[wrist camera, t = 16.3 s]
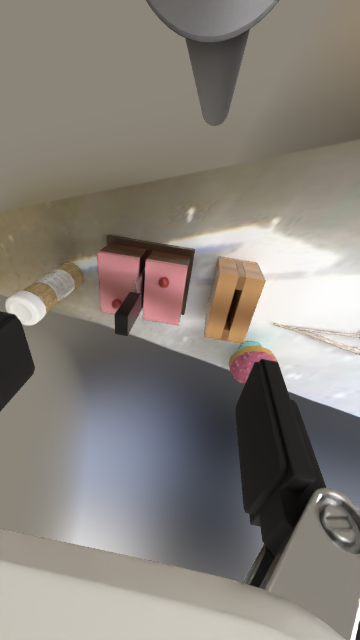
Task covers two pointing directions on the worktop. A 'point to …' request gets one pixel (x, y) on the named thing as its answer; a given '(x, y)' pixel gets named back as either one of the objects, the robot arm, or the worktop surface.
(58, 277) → the sprinkles bottle
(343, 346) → the tweezers
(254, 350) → the cupcake
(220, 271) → the knife block
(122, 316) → the knife
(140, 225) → the worktop surface
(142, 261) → the pink double-door cabinet
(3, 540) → the robot arm
